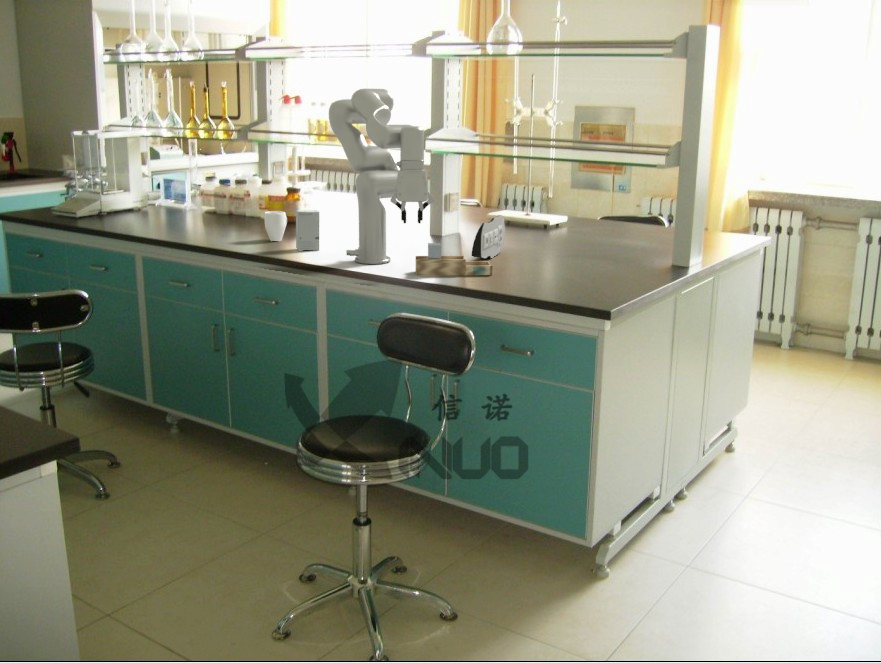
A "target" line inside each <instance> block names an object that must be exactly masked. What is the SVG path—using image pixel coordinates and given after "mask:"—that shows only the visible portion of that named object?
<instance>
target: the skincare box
mask: <svg viewBox="0 0 881 663" xmlns="http://www.w3.org/2000/svg"><path fill="white" fill-rule="evenodd" d="M295 242H296V243H295V244H296V246H295V249H296V248H297V249H298V250H313V251H320V211H318V210H315V209H314V210H313V209H298V210H295ZM297 249H296V250H297ZM298 250H297V251H298Z"/></svg>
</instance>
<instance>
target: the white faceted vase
mask: <svg viewBox="0 0 881 663" xmlns="http://www.w3.org/2000/svg"><path fill="white" fill-rule="evenodd" d="M263 216H264V227H265V231H266V234H267V235H268V238H269V241H270V242H272V241H279V242H281V241H282V240H283V238H284V233H285V230H286V227H287V224H288V217H287V214H286V211H282V210H268V211H265V212H264V215H263Z"/></svg>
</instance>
